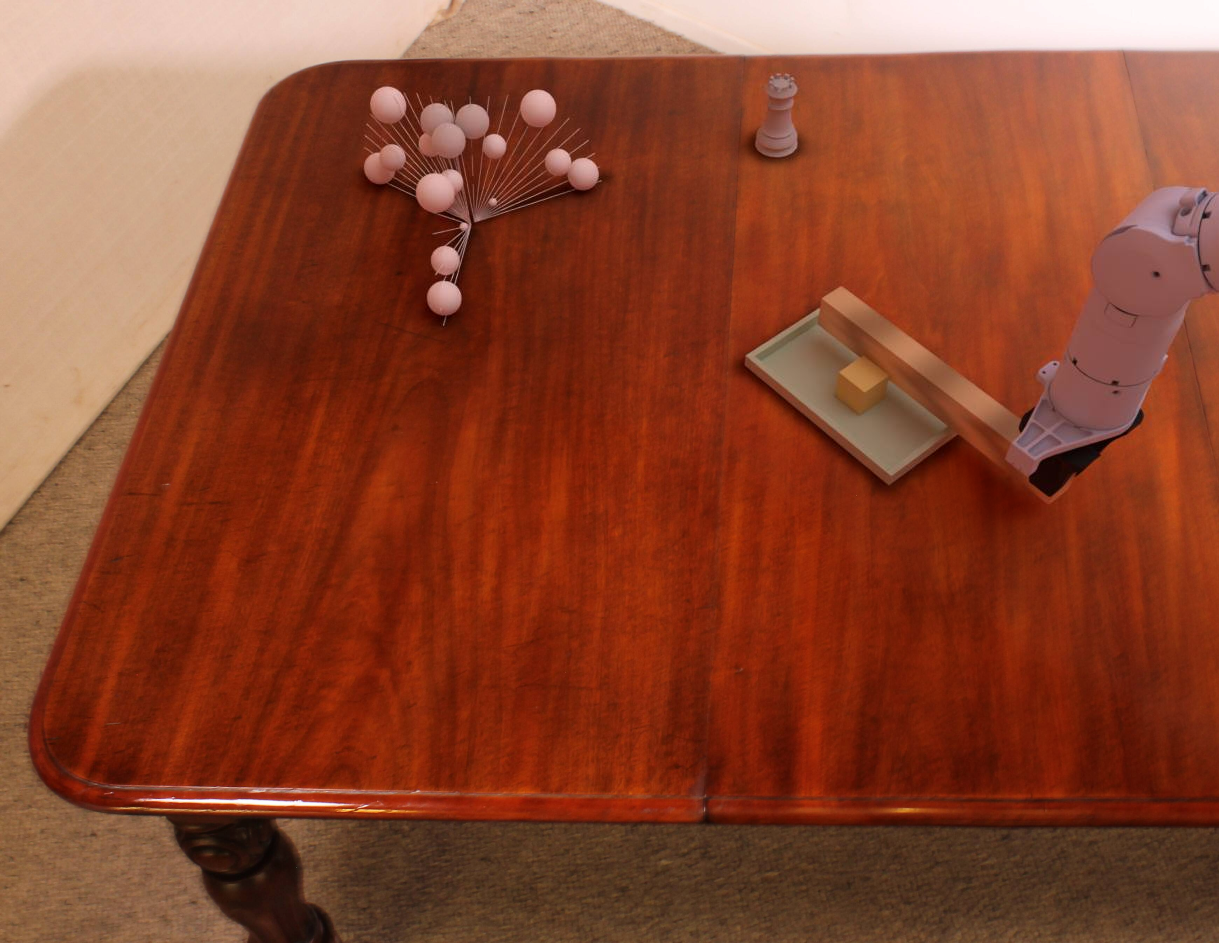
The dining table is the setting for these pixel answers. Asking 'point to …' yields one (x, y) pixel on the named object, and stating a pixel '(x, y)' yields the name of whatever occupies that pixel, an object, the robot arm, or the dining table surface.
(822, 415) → the dish
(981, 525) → the dining table surface
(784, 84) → the rook chess piece
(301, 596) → the dining table surface
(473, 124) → the decorative flower
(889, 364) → the stick
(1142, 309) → the robot arm
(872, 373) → the cheese cube
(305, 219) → the dining table surface
